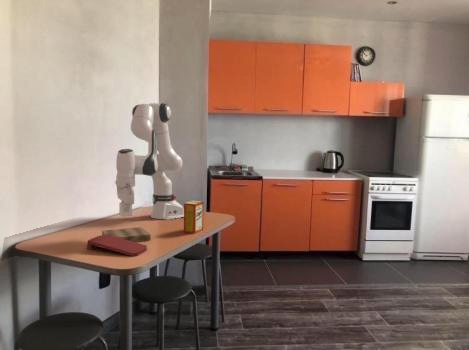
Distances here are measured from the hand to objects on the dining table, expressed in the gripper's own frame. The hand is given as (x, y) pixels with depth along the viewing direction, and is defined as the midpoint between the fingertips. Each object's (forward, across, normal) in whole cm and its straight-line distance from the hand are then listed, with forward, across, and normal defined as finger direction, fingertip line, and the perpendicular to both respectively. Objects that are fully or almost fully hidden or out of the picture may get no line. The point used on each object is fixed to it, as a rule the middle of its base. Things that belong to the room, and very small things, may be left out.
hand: (125, 210), depth 199 cm
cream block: (+2, 0, 0) cm, 2 cm away
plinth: (+14, 0, 0) cm, 14 cm away
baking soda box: (+14, +2, -37) cm, 39 cm away
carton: (+14, -17, +8) cm, 24 cm away
